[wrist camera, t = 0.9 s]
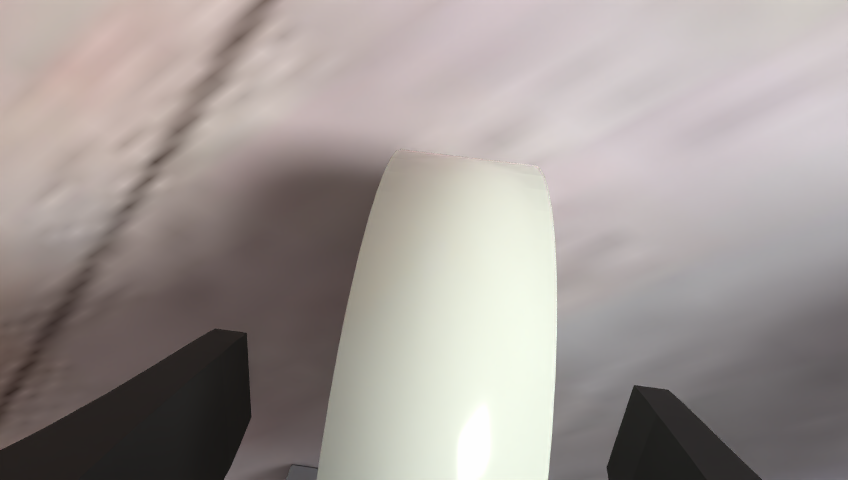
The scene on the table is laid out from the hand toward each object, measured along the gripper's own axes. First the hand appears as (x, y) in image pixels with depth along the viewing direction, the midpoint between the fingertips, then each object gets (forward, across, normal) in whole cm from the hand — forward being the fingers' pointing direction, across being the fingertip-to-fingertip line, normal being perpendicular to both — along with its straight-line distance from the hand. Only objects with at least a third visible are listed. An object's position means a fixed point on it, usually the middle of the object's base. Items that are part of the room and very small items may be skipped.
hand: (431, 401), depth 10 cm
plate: (+5, 0, 0) cm, 5 cm away
